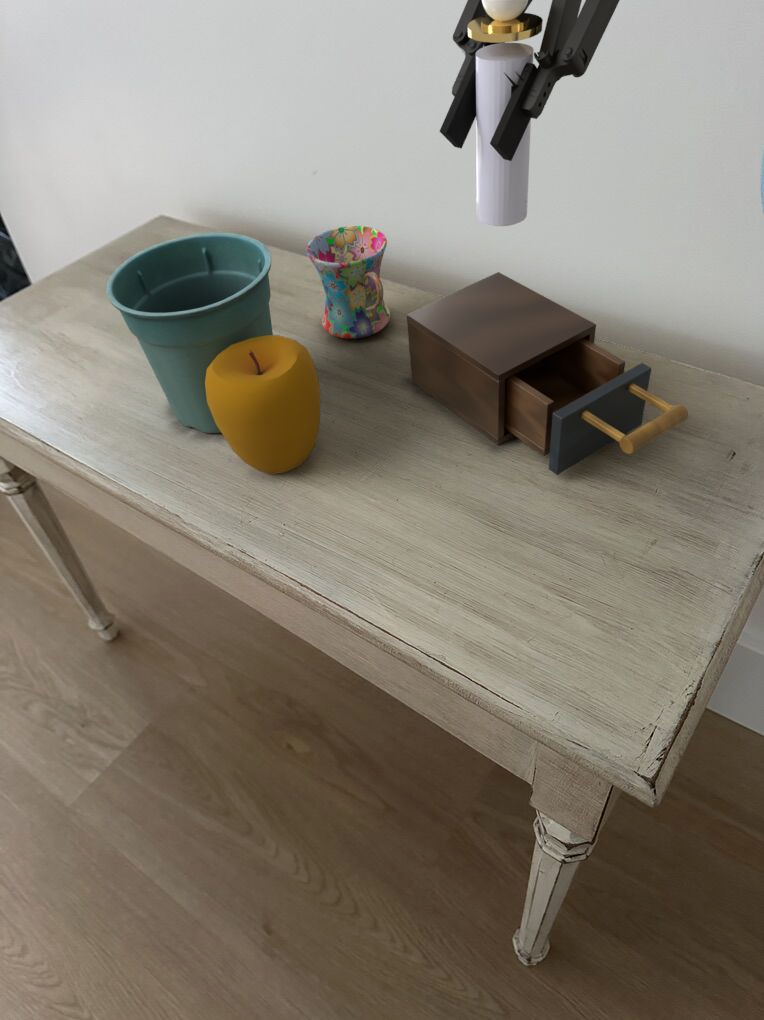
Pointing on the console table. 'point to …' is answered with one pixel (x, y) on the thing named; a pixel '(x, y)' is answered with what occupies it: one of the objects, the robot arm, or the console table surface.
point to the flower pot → (193, 310)
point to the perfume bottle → (501, 108)
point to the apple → (266, 401)
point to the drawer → (583, 405)
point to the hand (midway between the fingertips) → (475, 145)
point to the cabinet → (486, 346)
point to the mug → (351, 280)
